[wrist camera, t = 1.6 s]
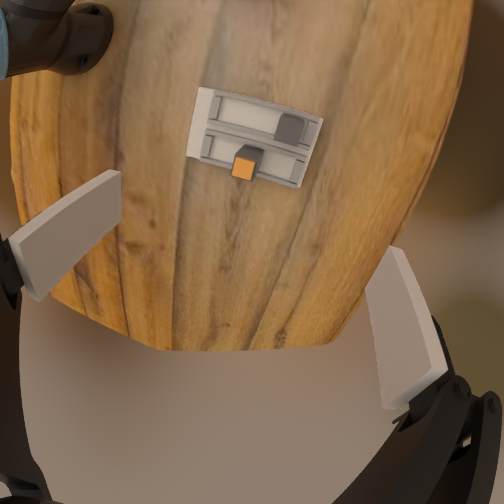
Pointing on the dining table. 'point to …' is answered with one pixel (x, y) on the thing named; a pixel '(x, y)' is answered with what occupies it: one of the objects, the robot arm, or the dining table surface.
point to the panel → (253, 134)
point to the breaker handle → (247, 162)
